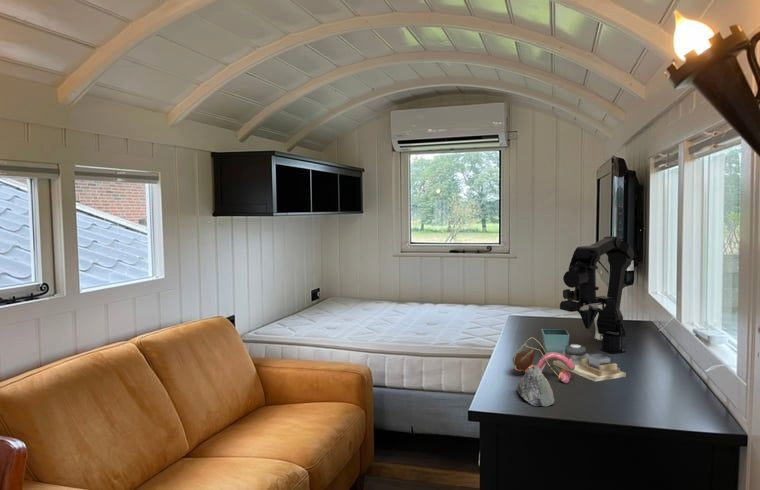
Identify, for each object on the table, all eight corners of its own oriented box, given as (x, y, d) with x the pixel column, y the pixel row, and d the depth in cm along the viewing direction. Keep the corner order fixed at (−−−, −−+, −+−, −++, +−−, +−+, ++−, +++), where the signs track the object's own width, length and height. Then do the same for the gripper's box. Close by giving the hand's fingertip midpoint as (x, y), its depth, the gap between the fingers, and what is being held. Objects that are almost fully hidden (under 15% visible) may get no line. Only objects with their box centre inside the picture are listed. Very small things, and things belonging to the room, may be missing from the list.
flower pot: (569, 360, 187) (569, 334, 186) (543, 359, 188) (543, 334, 188) (566, 353, 195) (566, 329, 195) (541, 352, 197) (541, 328, 196)
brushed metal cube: (598, 367, 173) (598, 353, 172) (610, 372, 168) (610, 356, 168) (588, 369, 171) (588, 354, 171) (599, 373, 167) (599, 358, 166)
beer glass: (597, 336, 220) (597, 300, 219) (615, 338, 215) (615, 301, 214) (590, 339, 215) (590, 302, 214) (607, 341, 210) (607, 304, 209)
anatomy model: (580, 376, 157) (540, 331, 161) (540, 405, 163) (503, 361, 167) (584, 366, 167) (546, 324, 171) (546, 393, 173) (511, 352, 177)
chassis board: (581, 360, 186) (581, 348, 186) (625, 376, 167) (626, 363, 167) (553, 364, 182) (553, 352, 182) (594, 381, 163) (594, 368, 163)
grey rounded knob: (576, 357, 184) (576, 342, 184) (589, 362, 178) (589, 346, 178) (561, 359, 182) (561, 344, 182) (574, 364, 176) (574, 348, 176)
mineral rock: (518, 389, 158) (518, 356, 157) (556, 393, 154) (556, 359, 153) (512, 405, 146) (512, 368, 145) (553, 409, 142) (553, 372, 141)
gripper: (592, 278, 193) (592, 320, 195) (549, 283, 187) (550, 326, 188) (615, 282, 183) (615, 326, 184) (570, 287, 177) (571, 333, 178)
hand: (587, 328), depth 184 cm, fingers closed
